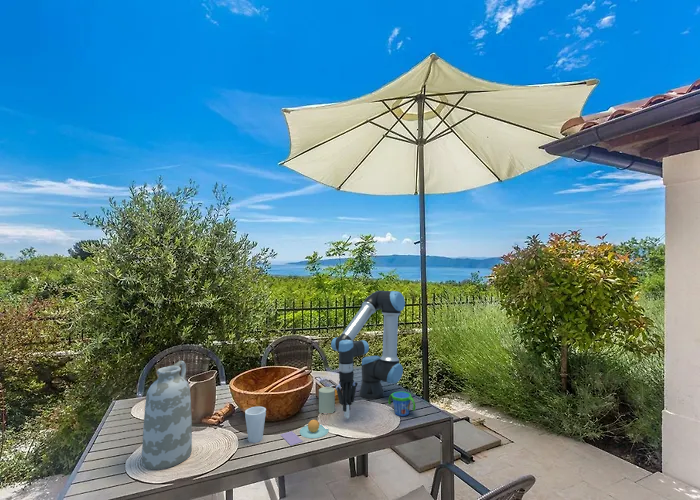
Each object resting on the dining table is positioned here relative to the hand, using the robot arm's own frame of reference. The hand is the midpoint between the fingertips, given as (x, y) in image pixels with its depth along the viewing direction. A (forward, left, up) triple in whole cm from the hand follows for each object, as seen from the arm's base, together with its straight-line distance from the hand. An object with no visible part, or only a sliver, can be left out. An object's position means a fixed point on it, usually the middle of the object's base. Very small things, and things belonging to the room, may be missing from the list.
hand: (346, 417), depth 176 cm
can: (+2, -17, -2) cm, 17 cm away
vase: (+80, -16, -2) cm, 82 cm away
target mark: (+19, 0, -2) cm, 19 cm away
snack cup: (-29, +10, -2) cm, 31 cm away
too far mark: (+31, 0, -2) cm, 31 cm away
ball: (+20, 0, +1) cm, 20 cm away
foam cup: (+45, -9, -2) cm, 46 cm away
